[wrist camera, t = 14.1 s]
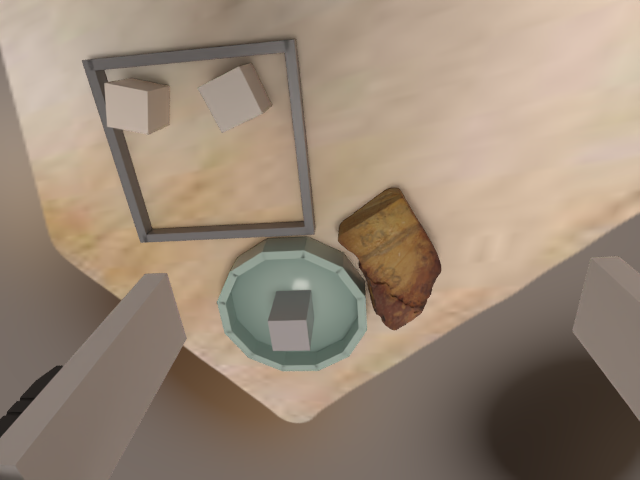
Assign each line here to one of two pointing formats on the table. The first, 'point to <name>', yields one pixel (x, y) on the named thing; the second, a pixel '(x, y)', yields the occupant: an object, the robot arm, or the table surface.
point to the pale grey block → (235, 97)
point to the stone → (392, 256)
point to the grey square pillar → (291, 320)
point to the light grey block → (137, 105)
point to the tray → (126, 169)
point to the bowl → (288, 275)
